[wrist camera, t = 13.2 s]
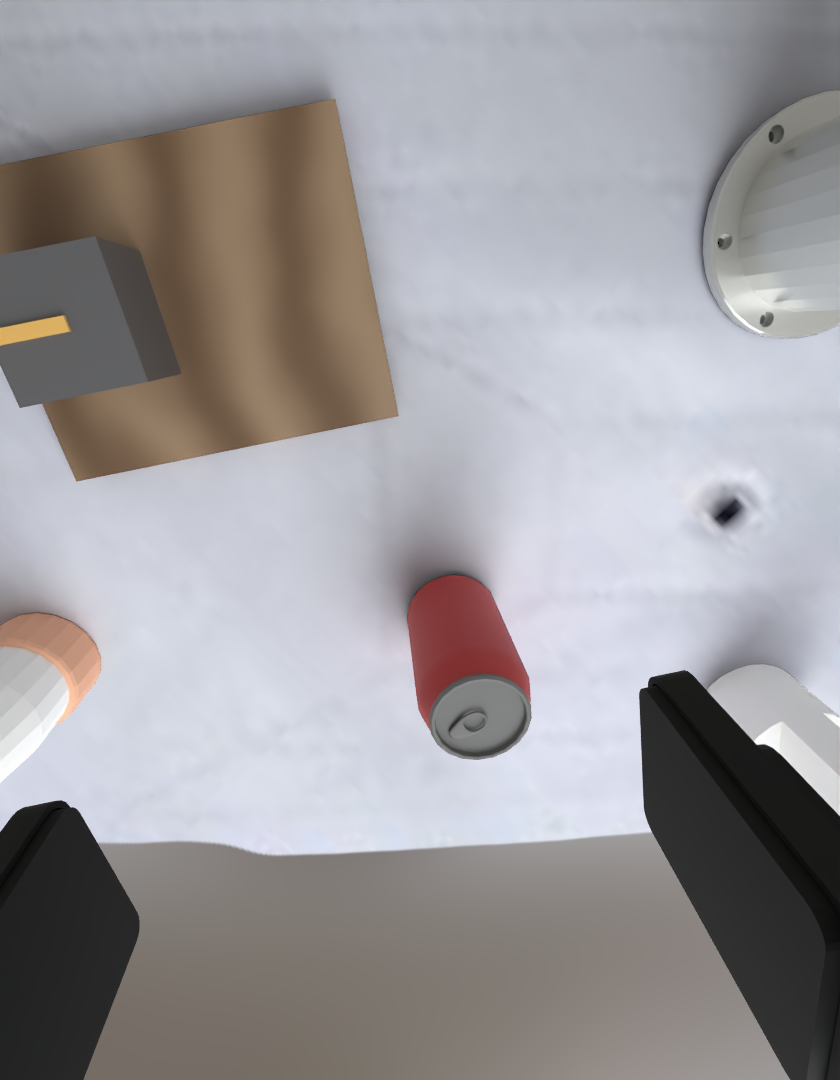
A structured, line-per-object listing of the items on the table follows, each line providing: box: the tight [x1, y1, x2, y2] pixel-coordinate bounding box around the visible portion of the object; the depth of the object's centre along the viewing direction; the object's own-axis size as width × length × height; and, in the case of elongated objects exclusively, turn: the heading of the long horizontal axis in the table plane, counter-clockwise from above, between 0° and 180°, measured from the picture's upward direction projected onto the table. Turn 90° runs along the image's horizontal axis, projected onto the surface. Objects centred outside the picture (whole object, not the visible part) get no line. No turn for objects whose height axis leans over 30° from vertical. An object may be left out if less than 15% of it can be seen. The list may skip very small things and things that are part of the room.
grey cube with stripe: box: [0, 236, 181, 408], centre depth 28 cm, size 6×6×5 cm
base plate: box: [0, 99, 398, 481], centre depth 31 cm, size 20×16×2 cm
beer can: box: [407, 575, 531, 760], centre depth 35 cm, size 7×7×12 cm
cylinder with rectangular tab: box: [707, 664, 840, 816], centre depth 40 cm, size 9×9×12 cm
